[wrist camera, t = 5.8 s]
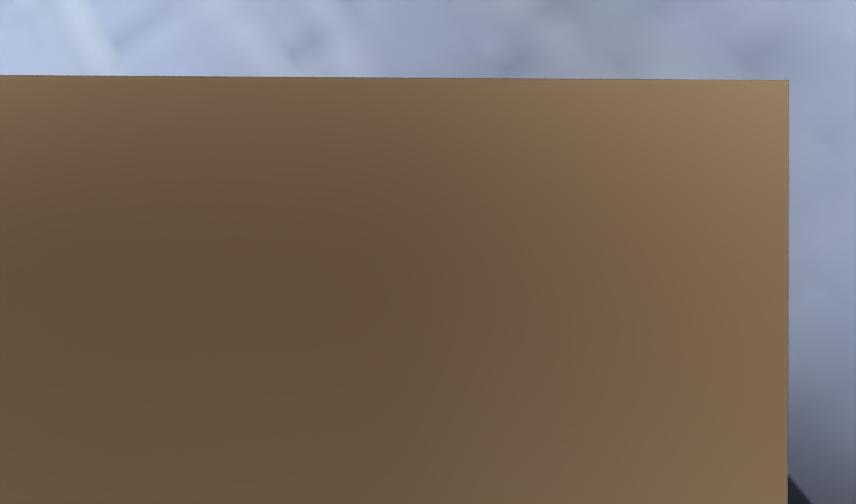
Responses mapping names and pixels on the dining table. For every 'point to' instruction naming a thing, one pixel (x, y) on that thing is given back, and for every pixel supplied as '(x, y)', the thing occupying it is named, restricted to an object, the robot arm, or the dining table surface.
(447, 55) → the dining table surface
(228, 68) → the dining table surface
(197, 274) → the oak post
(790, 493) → the robot arm
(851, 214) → the dining table surface
